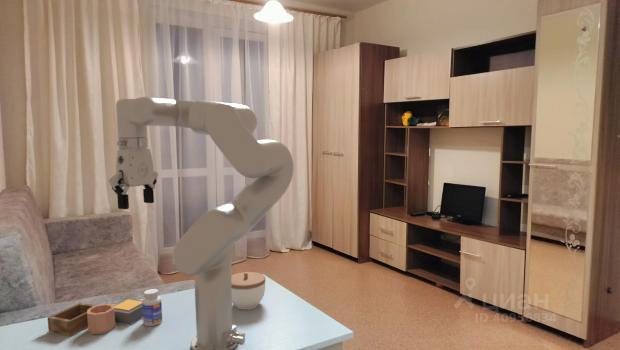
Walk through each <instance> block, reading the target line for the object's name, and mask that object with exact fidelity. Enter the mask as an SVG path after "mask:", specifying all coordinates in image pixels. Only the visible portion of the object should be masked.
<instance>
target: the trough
mask: <svg viewBox="0 0 620 350" xmlns="http://www.w3.org/2000/svg"><path fill="white" fill-rule="evenodd" d="M96 305H97V304H96ZM96 305H95V304H91V303H90V304H89V303H84V302H78V303H76V304H74V305H72V306H70V307H68V308H66V309H64V310H61V311H59V312H57V313H55V314H53V315H50V316H48V317H47V326H48V327H47V329H48V332H49V333H52V334H57V335H62V336H67V337H72V336H74V335H76V334H78V333H80V332H82V331H84V330H85V329H86V330H87V329H88V320H87V310H88V309H89V308H91V307H94V306H96Z"/></svg>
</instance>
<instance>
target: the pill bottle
mask: <svg viewBox="0 0 620 350" xmlns="http://www.w3.org/2000/svg"><path fill="white" fill-rule="evenodd" d="M143 296H144V297H143V299H142V309H143V317H142V323H143V325H144V326H148V327H154V326H157V325H159V324H161V323H162V322H163V310H162V309H163V308H162V297H161V296H159V290H158V289H157V288H152V289H151V288H150V289H146V290H145V291H144V292H143Z"/></svg>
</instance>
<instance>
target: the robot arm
mask: <svg viewBox="0 0 620 350" xmlns="http://www.w3.org/2000/svg"><path fill="white" fill-rule="evenodd" d="M115 110H116V111H115V112H116V124H117V125H116V126H117V127H116V128H117V141H116V145H117V146H118V150H117V152H116V159H115V160H116V161H115V162H116V163H115V168H116V169H115V172H116V173H115V174H114V175H113V176H112V177H110V178H109V180H108V182H109V184H110V186H111V190H113V191H114V193H115V195H117V198H116V199H117V208H118V209H119V210H129V208H130V203H129V194H127V193H128V191H129V190H130V187H132V188H134V187H140V186H143V190H142V191H143V193H142V195H143V202H144V204H154V202H155V196H154V195H155V194H154V190H155V189H156V184H157V181H158V180H157V179H158V176H159V172H157V171H155V168H154V167H155V166H154V161H153V160H154V159H153V156H152V152H151V149H150V148H149V144H148V143H149V142H148V141H149V138H148V137H149V136H148V127H153V126H154V127H155V126H156V127H157V126H159V127H162V126H163V127H179V128H186V129H191V130H192V132H194V133H195V134H199V135H205V136H206V135H207V136H209V137H210V138H211V140H212V142H213V143H214V144H215V145H216V147H217V148H218V149H219V150H220V152H221V153H222V155H223V156H224V157H225V158H226V159H227V161H228V162H229V163H230V165H231V166H232V167H233V168H234V169H235V170H236V172H237V173H239V175H241V176H242V177H245V178H247V179H252V180H250V181H249V182H248V183H247V184H245V186H243V188H242V189H241V190H240V191H239V193H238V194H236V196H235V197H234V198H233V199H231V200H230V201H229V202H227V203H224V204H221V205H218V206H216V207H213V208H210V209H209V210H207V211H206V212H204V213H203V214H201V215H200V216H199V217H198V219H196V221H195V222H194V223H193V224H192V225H191V226H190V227H189V229H187V231H186V232H185V233H184V234H183V235H182V236H181V237H180V238H179V240H178V241H177V243H175V246H174V248H173V250H172V263H173V266H174V268H175V269H176V270H177V271H178V273H180V274H182V275H184V276H187V277H189V276H191V277H192V276H194V304H195V324H196V325H195V326H196V327H195V328H196V335H195V336H194V337H193V338H192V339H191V342H190V346H191V350H234V349H235V348H236V347H237V346H244V345H245V342H246V338H245V337H246V333H245V332H238V331H237V330H238V329H237V325H235V324H234V322H233V321H234V320H233V303H232V291H231V287H232V285H231V275H232V265H233V256H234V250H235V249H234V243H235V242H238V241H240V240H241V239H243V238H244V237H246V236H247V235H248V234H249V233H250V232H251V231H252V230H253V229H254V228H255V226H256V225H257V224H258V223H259V222H260V221H261V220H262V219H263V218H264V217H265V216H266V215H267V214H268V213H269V211H270V210H271V209H272V208H273V207H274V206H275V205H276V204H277V203H278V201H280V199H281V198H282V197H283V196H284V195H285V193H286V192H287V190H288V188H289V186H290V185H291V182H292V179H293V176H294V161H293V156H292V154H291V152H290V150H289V148H288V147H287V146H286V145H285V144H284V143H282V142H280V141H277V140H274V139H273V140H272V139H260V140H259V139H258V140H257V139H256V137H255V136H254V135H253V133H254V132H255V130H256V128H257V125H258V124H257V123H258V121H257V115H256V113H255V112H254V111H253V110H252V109H251V108H250V107H249V106H246V105H243V104H239V103H232V102H231V103H228V102H221V101H220V102H219V101H212V100H211V101H210V100H201V99H198V100H195V101H191V100H189V101H188V100H183V99H180V100H179V99H173V98H164V97H156V96H155V97H153V96H142V97H137V98H121V99H118V100H116V103H115Z"/></svg>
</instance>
